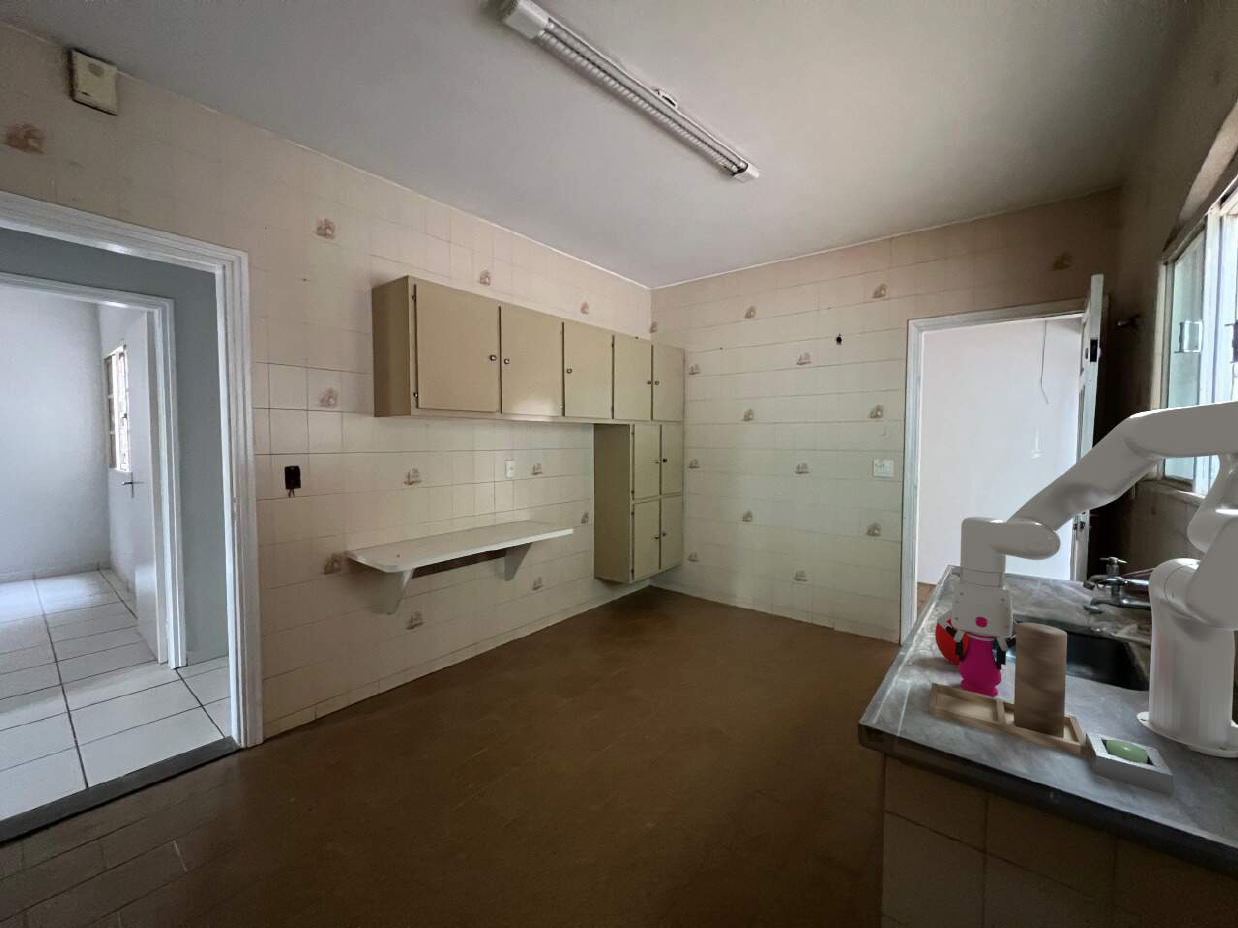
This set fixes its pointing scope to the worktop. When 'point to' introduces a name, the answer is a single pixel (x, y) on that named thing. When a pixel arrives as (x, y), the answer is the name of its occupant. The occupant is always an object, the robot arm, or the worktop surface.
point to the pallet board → (1000, 718)
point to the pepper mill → (980, 664)
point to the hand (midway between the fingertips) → (979, 662)
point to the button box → (1130, 766)
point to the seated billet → (1040, 678)
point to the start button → (1126, 751)
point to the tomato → (949, 643)
